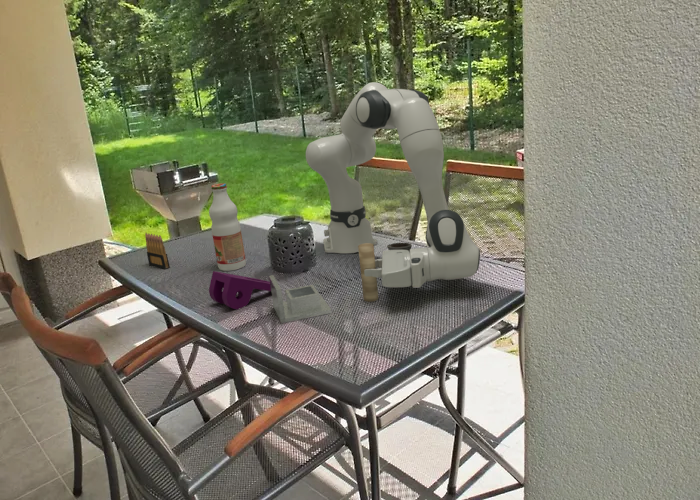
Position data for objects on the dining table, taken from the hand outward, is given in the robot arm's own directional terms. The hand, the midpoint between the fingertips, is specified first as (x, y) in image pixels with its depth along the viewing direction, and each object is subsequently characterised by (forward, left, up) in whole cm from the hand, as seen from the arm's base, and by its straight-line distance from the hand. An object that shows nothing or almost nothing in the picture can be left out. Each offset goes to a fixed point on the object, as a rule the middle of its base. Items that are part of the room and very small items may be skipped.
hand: (364, 269), depth 158 cm
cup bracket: (-2, -17, -9) cm, 19 cm away
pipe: (-16, +19, -9) cm, 26 cm away
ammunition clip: (-68, -55, -9) cm, 88 cm away
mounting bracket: (-19, -30, -9) cm, 36 cm away
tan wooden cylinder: (0, +1, -9) cm, 9 cm away
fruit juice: (-52, -31, -9) cm, 61 cm away
